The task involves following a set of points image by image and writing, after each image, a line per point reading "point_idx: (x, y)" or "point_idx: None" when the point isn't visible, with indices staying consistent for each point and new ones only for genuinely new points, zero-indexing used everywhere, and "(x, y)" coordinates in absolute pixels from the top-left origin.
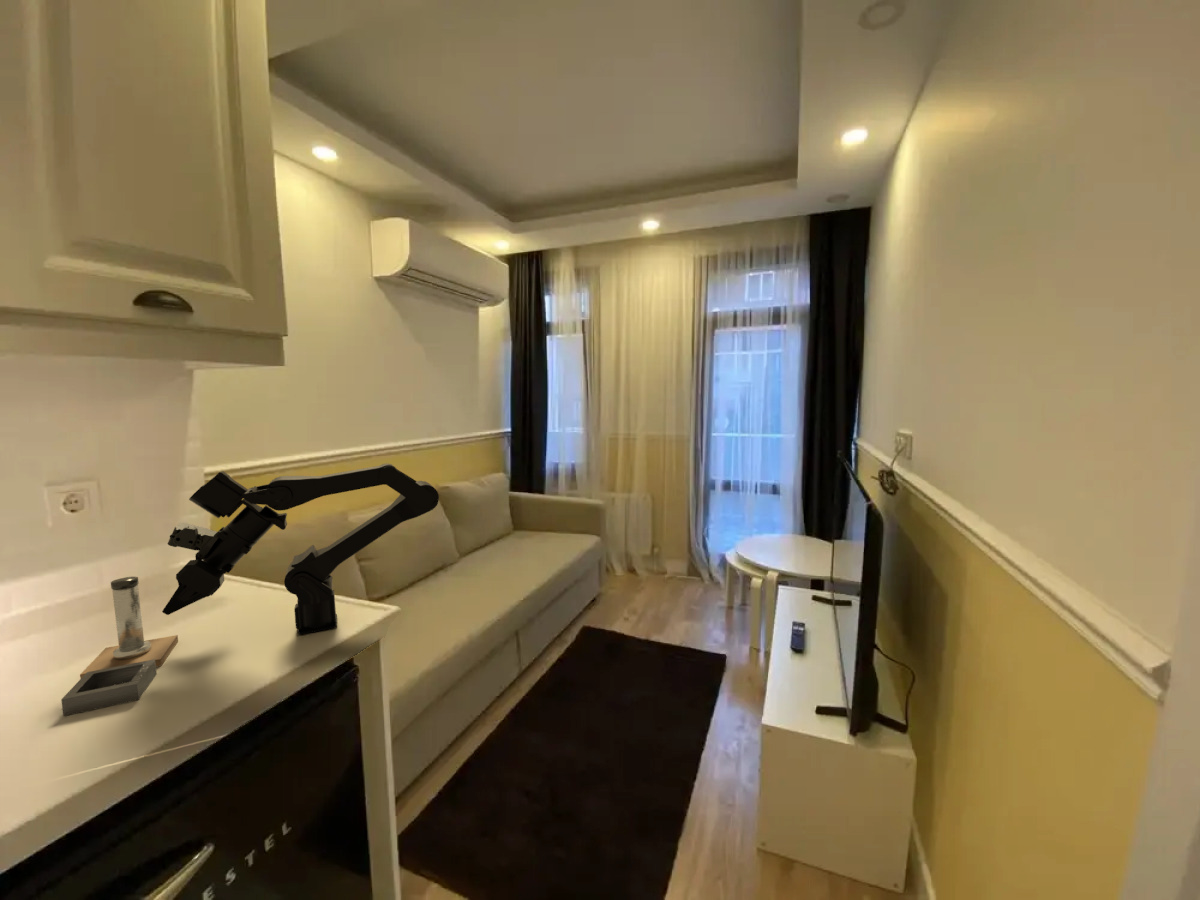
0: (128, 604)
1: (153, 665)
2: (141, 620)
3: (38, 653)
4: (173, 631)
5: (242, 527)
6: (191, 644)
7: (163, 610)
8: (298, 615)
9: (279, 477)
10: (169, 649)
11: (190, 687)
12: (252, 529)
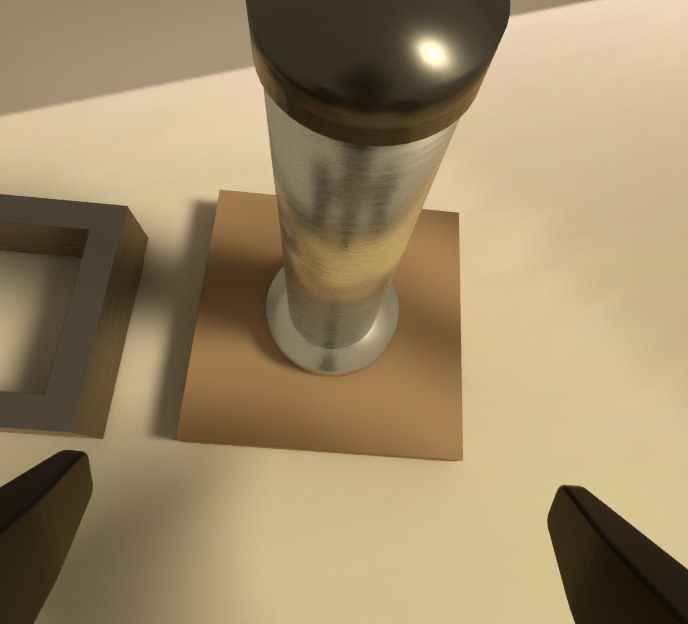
0: (277, 188)
1: (50, 432)
2: (337, 304)
3: (579, 54)
4: (606, 416)
5: None
6: (390, 527)
7: (52, 460)
8: None
9: None
10: (317, 450)
11: None
12: None
